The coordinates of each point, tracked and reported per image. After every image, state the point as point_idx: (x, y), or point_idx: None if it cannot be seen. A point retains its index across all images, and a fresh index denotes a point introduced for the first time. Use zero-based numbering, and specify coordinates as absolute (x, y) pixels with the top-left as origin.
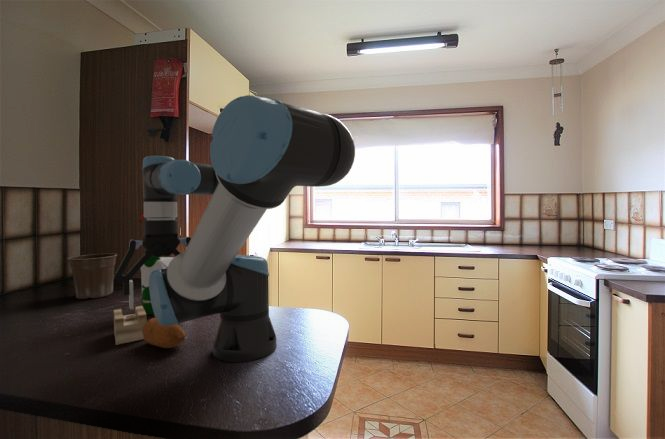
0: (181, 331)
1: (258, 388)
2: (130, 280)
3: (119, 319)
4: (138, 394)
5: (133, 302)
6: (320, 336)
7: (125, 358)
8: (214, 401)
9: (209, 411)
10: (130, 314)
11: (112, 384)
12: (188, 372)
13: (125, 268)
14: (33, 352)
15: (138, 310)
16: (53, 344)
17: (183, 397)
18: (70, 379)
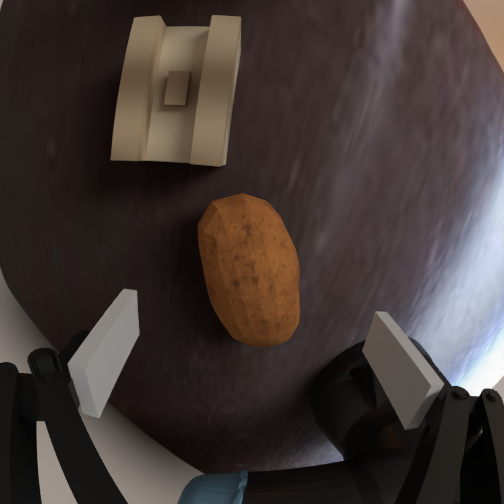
0: (285, 341)
1: None
2: (79, 380)
3: (124, 160)
4: (169, 421)
5: (130, 350)
6: None
7: (153, 279)
8: (248, 470)
9: None
10: (196, 27)
11: (133, 375)
12: (249, 412)
13: (37, 466)
14: (10, 97)
15: (207, 79)
16: (39, 62)
17: (220, 453)
18: (68, 307)
